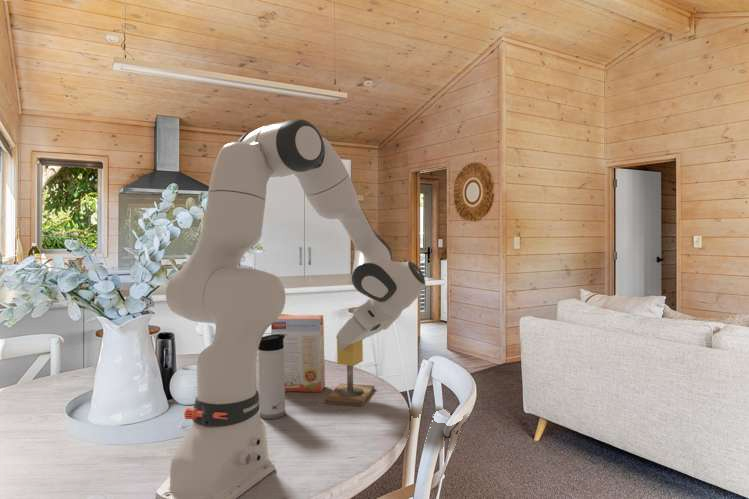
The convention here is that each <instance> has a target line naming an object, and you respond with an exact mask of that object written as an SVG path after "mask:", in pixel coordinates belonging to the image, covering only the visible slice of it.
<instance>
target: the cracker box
mask: <svg viewBox="0 0 749 499" xmlns="http://www.w3.org/2000/svg"><path fill="white" fill-rule="evenodd" d="M324 324H325V323H324V315H323V314H316V315H315V314H309V315H307V314H301V315H300V314H291V315H289V314H287V315H286V314H283V315H282V314H281V315H280V316H279V318H278V319H277V320H276V321H275V322H274V323H272V324H271V325H270V326H271V329H270V330H271V334H270V335H275V334H284V335H285V338H283V345H284V378H285V392H307V393H309V392H310V393H311V392H312V393H313V392H314V393H316V392H317V393H318V392H319V393H320V392H322V391H323V390H324V388H325V386H326V379H325V378H326V375H325V373H326V371H325V367H326V366H325V333H324V332H325V330H324V329H325V327H324Z"/></svg>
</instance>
